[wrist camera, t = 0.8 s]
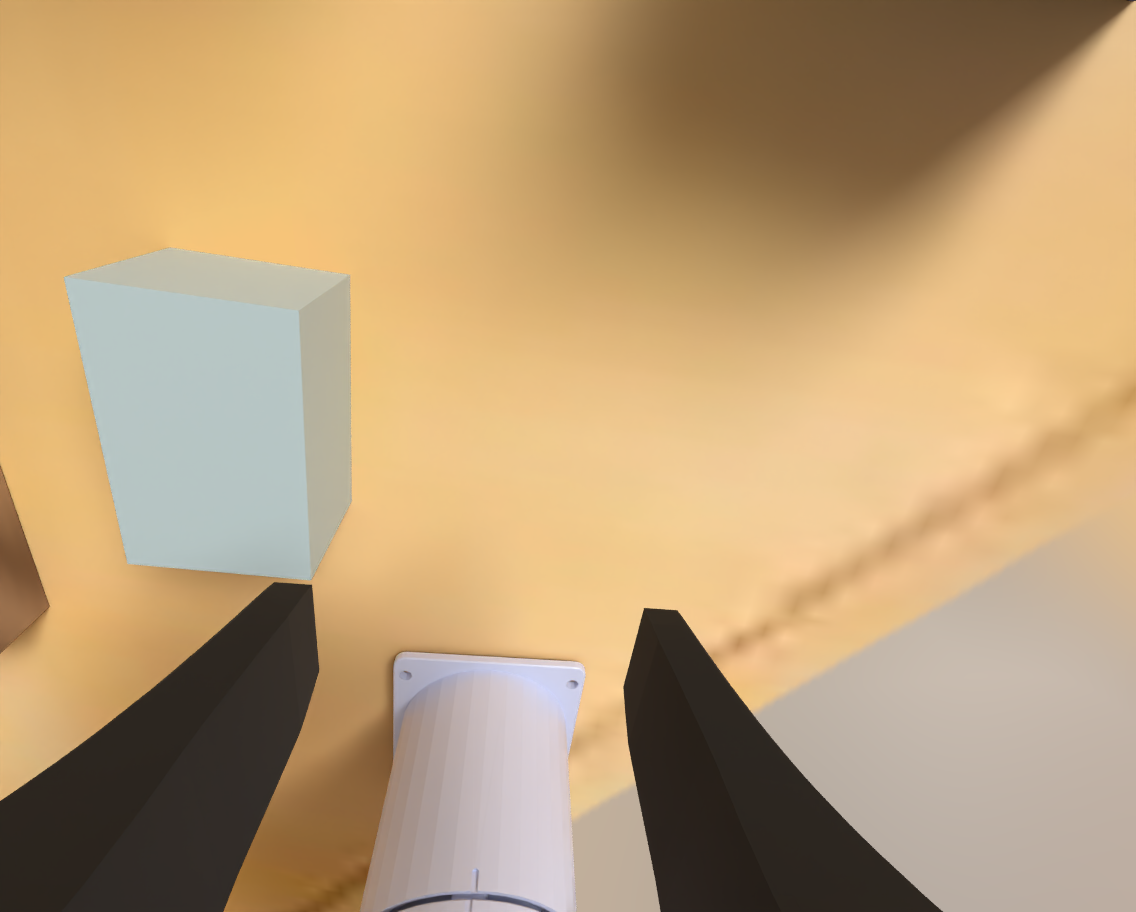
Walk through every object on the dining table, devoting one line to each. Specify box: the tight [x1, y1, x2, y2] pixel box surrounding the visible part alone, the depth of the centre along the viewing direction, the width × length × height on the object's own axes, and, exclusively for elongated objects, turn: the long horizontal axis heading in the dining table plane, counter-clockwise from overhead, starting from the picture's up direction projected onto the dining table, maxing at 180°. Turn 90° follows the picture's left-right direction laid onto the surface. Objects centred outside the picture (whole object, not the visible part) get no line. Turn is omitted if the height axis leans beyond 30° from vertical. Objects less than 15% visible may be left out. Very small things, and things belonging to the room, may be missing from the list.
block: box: [64, 248, 352, 580], centre depth 17 cm, size 8×5×4 cm, turn 171°
